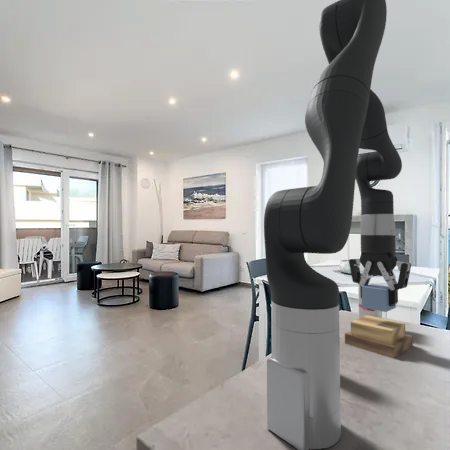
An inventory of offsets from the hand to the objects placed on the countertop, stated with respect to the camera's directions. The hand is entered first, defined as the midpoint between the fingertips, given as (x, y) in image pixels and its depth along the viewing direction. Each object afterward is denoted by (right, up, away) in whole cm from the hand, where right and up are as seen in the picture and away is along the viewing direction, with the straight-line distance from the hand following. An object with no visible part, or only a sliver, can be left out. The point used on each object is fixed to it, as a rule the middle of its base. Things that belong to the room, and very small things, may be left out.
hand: (378, 303), depth 71 cm
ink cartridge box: (+4, -10, +12) cm, 16 cm away
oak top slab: (0, -8, 0) cm, 8 cm away
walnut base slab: (0, -11, 0) cm, 11 cm away
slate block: (0, -1, 0) cm, 1 cm away
